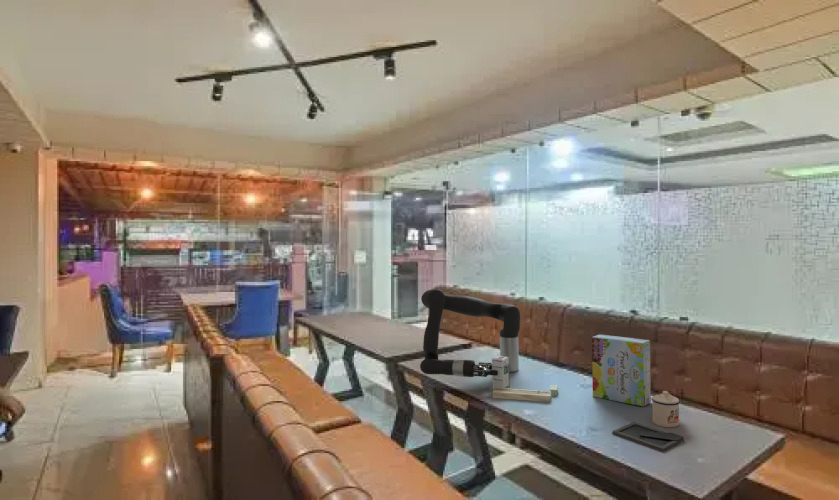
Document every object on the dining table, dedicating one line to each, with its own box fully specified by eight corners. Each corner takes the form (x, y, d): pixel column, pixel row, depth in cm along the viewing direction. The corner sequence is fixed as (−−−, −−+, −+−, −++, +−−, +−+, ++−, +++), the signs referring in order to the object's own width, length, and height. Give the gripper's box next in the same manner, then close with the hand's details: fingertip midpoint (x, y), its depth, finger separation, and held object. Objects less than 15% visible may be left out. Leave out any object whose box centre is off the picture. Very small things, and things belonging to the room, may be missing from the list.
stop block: (550, 390, 223) (550, 384, 223) (557, 390, 222) (557, 385, 222) (550, 395, 216) (550, 389, 216) (557, 395, 215) (557, 390, 215)
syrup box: (503, 392, 222) (503, 359, 221) (492, 389, 225) (491, 357, 225) (509, 388, 226) (509, 356, 226) (498, 386, 230) (497, 355, 229)
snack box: (651, 402, 205) (651, 339, 204) (644, 408, 199) (644, 343, 198) (599, 391, 220) (599, 333, 219) (591, 396, 213) (590, 336, 212)
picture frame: (683, 442, 168) (633, 426, 183) (683, 436, 168) (633, 420, 183) (662, 453, 160) (612, 435, 175) (662, 447, 160) (612, 429, 175)
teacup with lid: (671, 430, 177) (671, 397, 176) (646, 422, 184) (646, 391, 184) (688, 421, 184) (688, 390, 184) (663, 414, 191) (663, 384, 191)
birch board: (494, 393, 221) (494, 387, 220) (551, 397, 214) (551, 391, 213) (492, 397, 215) (492, 391, 215) (550, 402, 208) (550, 395, 208)
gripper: (460, 364, 223) (496, 366, 219) (466, 356, 237) (501, 358, 232) (460, 380, 224) (497, 383, 219) (467, 371, 237) (501, 374, 233)
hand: (499, 370), depth 226 cm, fingers open, 8 cm apart
